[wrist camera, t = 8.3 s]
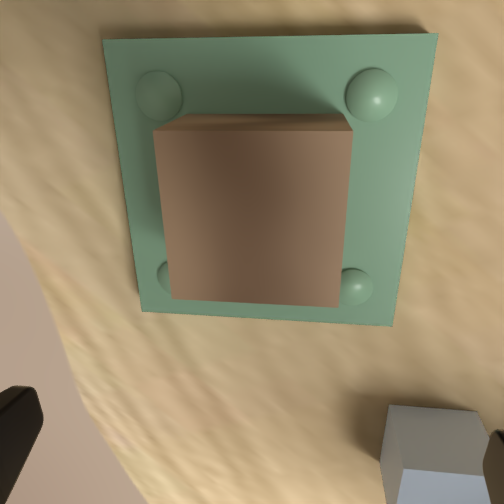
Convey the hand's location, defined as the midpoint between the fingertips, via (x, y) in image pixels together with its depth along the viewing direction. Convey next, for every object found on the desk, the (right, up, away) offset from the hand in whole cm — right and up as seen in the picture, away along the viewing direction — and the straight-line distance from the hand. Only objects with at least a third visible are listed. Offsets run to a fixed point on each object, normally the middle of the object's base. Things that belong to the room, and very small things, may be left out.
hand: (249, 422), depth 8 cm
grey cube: (+10, -7, +15) cm, 19 cm away
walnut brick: (+1, +6, +9) cm, 11 cm away
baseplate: (+1, +6, +10) cm, 12 cm away
